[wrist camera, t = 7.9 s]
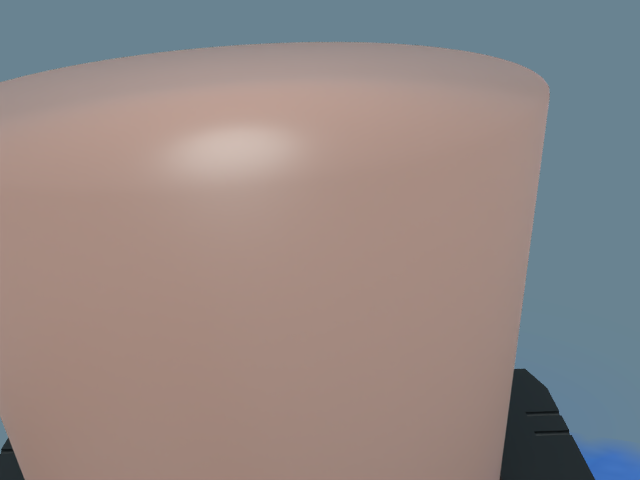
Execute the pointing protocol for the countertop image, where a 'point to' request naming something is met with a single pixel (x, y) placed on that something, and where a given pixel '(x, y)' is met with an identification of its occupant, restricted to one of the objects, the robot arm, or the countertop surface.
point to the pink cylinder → (266, 262)
